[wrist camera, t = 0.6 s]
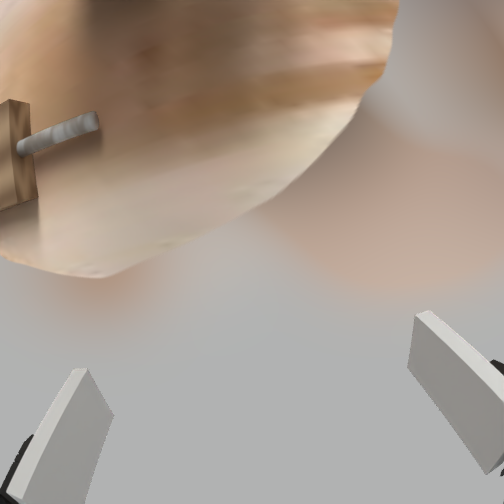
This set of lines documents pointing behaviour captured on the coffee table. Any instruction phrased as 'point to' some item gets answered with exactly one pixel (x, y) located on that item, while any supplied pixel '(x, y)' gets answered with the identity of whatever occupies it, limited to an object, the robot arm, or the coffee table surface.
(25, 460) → the robot arm
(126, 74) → the coffee table surface
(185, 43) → the coffee table surface
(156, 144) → the coffee table surface
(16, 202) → the block
